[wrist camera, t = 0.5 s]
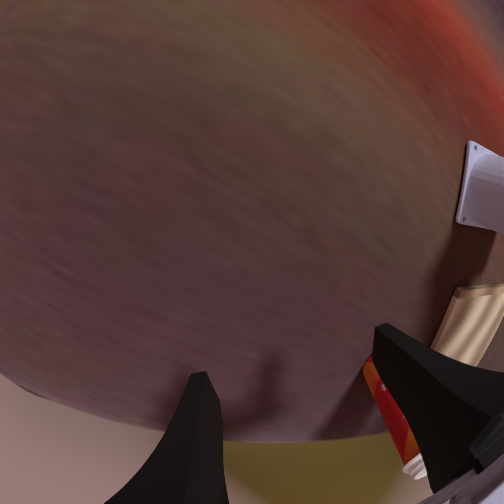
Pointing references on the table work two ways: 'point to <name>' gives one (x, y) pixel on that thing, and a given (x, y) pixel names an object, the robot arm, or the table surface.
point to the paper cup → (395, 423)
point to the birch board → (470, 322)
